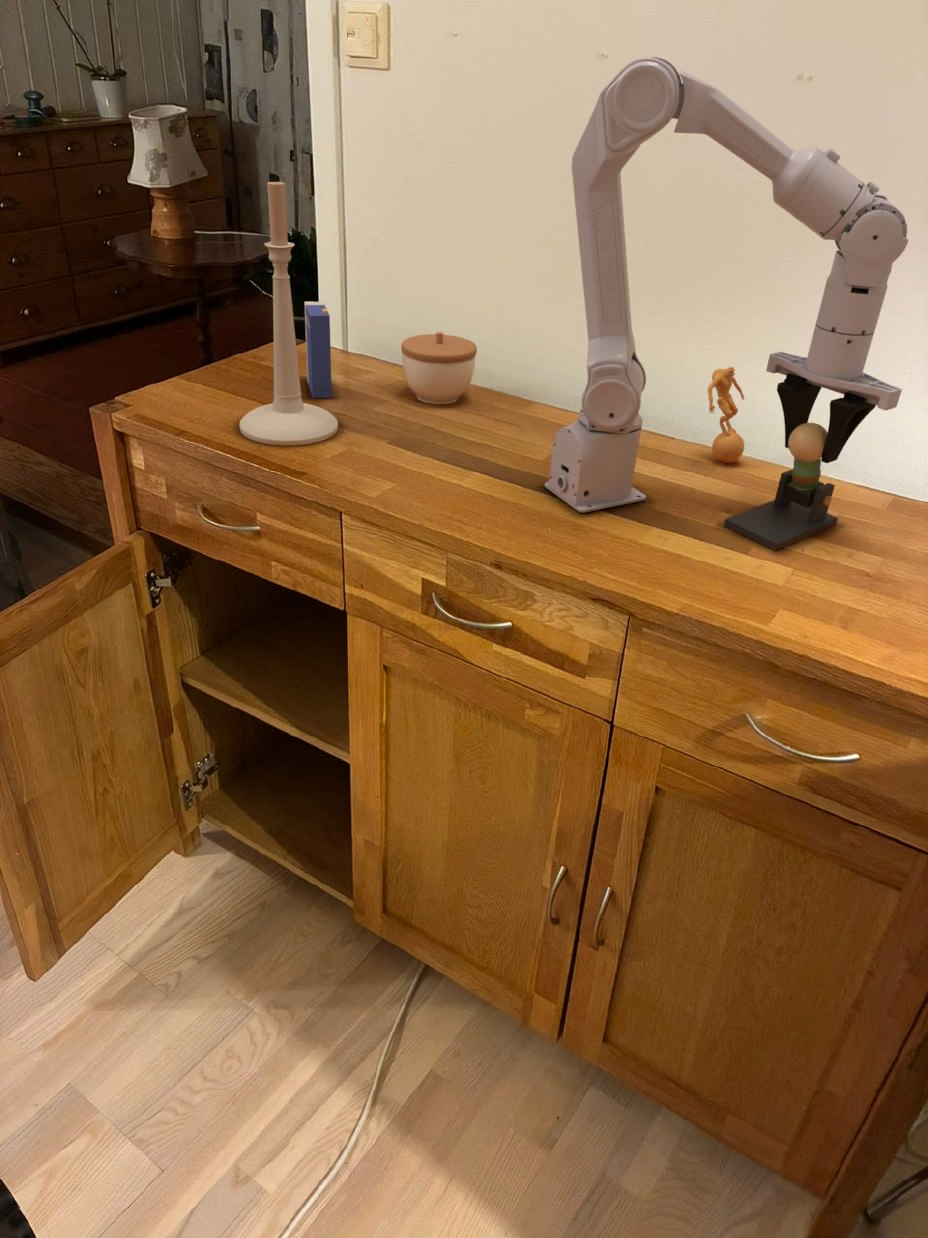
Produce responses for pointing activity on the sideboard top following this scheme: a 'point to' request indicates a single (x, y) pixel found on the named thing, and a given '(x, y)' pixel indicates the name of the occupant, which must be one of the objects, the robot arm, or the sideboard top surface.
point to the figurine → (728, 442)
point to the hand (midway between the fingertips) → (810, 453)
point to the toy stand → (785, 517)
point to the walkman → (318, 349)
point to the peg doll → (806, 462)
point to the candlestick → (285, 354)
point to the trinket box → (438, 366)
